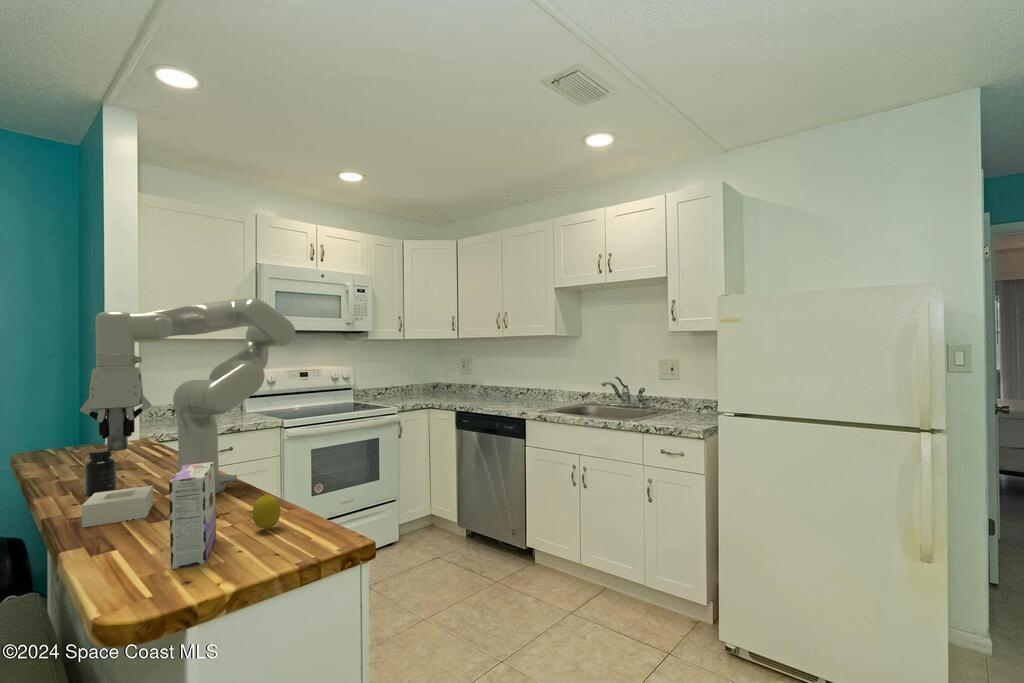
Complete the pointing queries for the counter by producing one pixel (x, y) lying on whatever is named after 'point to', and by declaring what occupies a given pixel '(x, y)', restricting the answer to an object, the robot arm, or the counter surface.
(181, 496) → the candy box
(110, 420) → the peg
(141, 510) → the socket block
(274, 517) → the lemon
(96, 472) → the supplement bottle
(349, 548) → the counter surface
